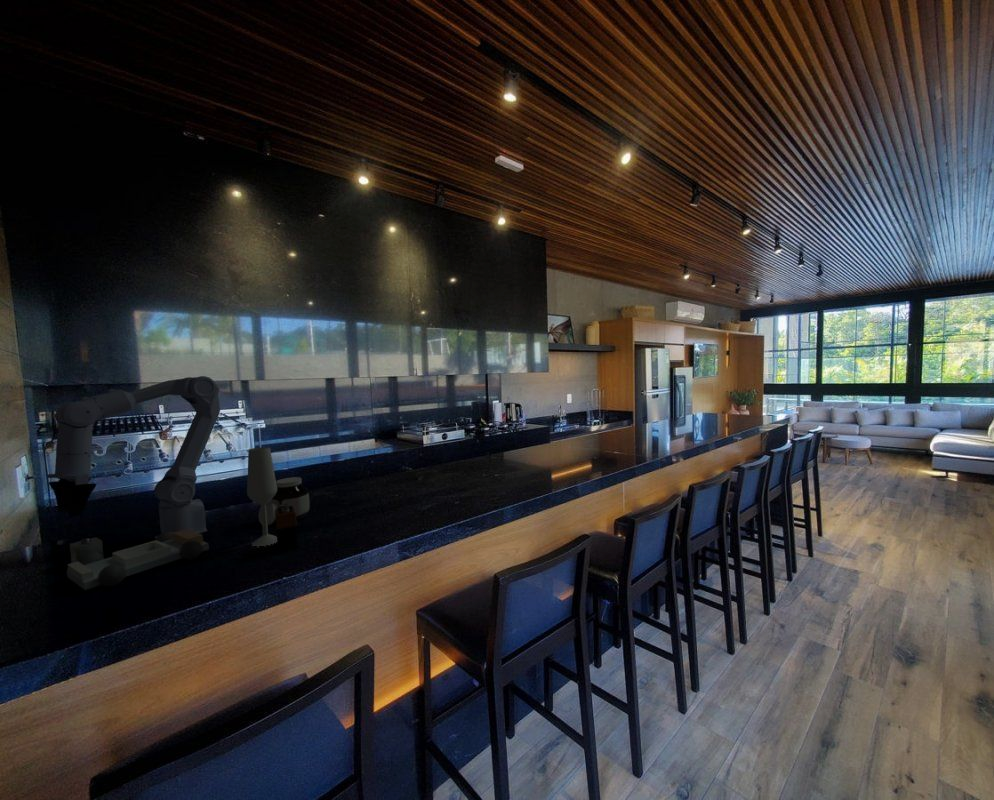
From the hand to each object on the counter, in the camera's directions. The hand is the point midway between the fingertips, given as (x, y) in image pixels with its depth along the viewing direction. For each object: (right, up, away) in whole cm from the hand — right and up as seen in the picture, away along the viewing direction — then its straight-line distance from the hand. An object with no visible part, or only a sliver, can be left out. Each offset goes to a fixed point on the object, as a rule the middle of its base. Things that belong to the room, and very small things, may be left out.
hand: (70, 513), depth 94 cm
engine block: (+2, -12, +2) cm, 13 cm away
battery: (+46, -10, +7) cm, 48 cm away
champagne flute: (+39, -11, +11) cm, 42 cm away
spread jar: (+35, -10, +27) cm, 46 cm away
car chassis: (+17, -12, 0) cm, 20 cm away
